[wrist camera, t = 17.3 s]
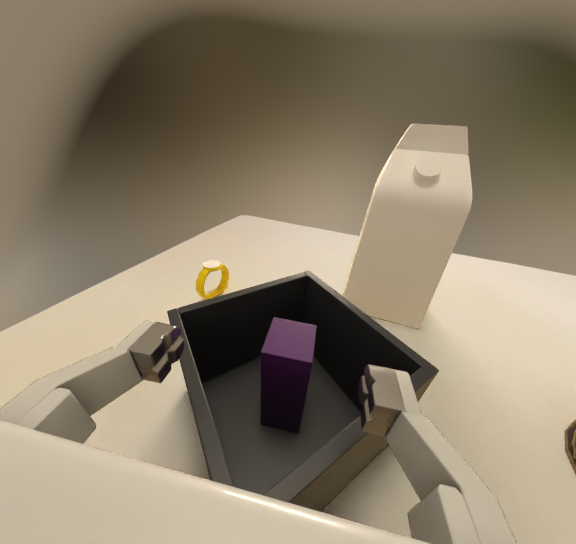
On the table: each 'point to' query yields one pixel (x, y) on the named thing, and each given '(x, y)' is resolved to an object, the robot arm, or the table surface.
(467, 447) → the table surface
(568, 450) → the wood slice coaster
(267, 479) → the waste bin
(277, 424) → the purple rectangular block
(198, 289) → the watch
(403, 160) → the milk
